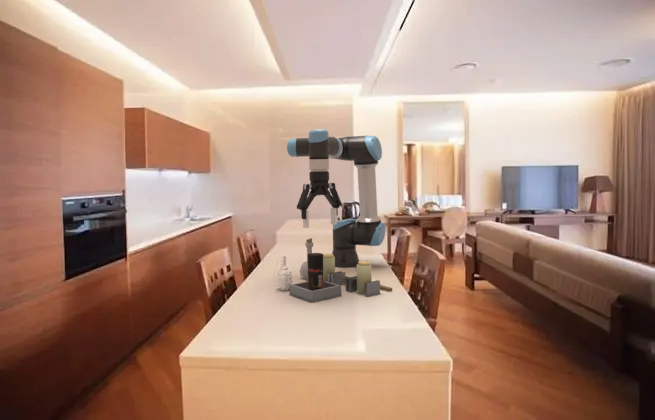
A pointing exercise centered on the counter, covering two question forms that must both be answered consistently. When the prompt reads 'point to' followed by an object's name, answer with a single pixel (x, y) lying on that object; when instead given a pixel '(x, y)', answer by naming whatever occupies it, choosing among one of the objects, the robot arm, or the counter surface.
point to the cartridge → (328, 265)
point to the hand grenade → (284, 276)
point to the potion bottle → (305, 264)
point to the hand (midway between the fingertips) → (320, 226)
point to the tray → (315, 291)
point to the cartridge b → (363, 275)
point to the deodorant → (315, 271)
